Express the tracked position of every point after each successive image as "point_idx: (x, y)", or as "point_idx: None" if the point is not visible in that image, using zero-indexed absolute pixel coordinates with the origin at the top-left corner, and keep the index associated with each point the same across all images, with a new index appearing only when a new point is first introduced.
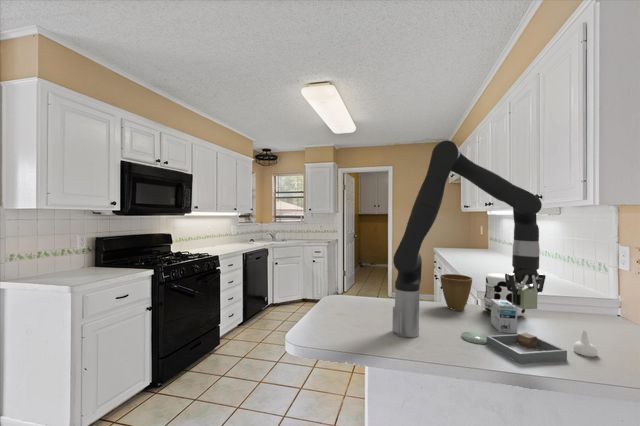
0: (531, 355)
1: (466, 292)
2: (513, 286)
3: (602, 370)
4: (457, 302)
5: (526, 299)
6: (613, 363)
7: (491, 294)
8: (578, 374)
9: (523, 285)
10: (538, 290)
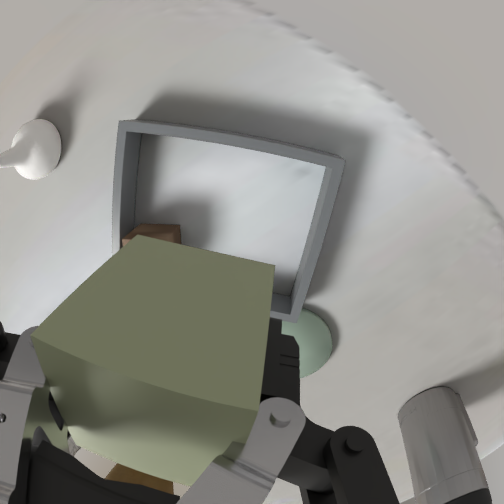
0: (287, 145)
1: (127, 479)
2: (377, 495)
3: (109, 42)
4: None
5: (234, 313)
6: (40, 79)
7: (70, 446)
8: (213, 33)
9: (219, 494)
10: (3, 345)
